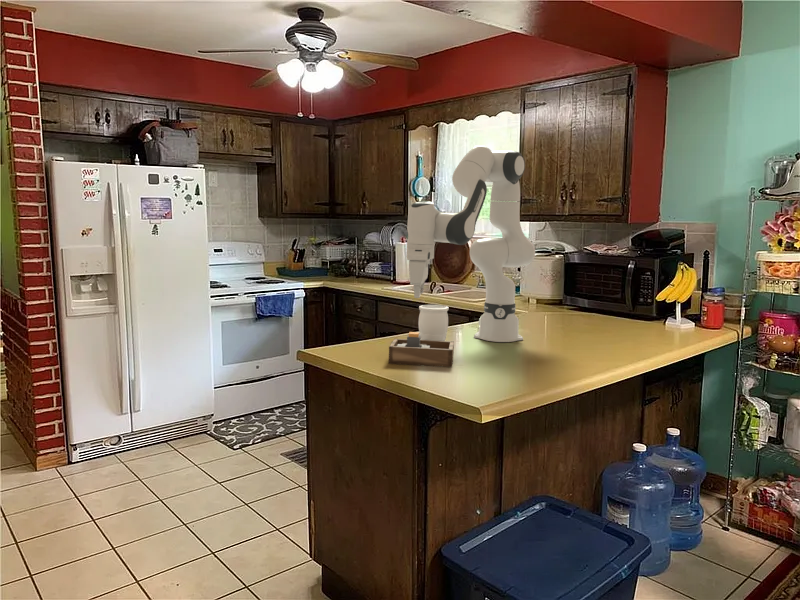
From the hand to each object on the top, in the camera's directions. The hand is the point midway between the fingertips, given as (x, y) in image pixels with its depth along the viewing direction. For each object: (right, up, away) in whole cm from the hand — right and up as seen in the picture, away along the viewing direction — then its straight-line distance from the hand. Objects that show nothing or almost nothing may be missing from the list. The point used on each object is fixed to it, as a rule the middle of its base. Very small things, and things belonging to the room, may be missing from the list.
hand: (418, 295), depth 196 cm
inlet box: (+1, -21, +2) cm, 21 cm away
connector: (-2, -20, +2) cm, 20 cm away
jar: (+6, -19, +22) cm, 29 cm away
